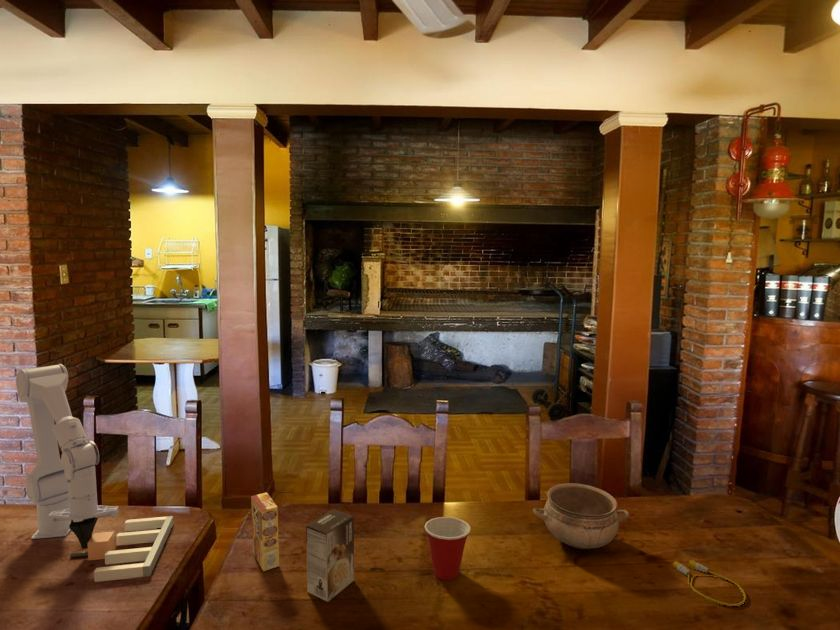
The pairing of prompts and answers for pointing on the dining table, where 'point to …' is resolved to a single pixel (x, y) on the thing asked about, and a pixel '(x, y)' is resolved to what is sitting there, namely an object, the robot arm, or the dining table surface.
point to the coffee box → (330, 554)
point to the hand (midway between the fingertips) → (86, 546)
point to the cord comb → (138, 554)
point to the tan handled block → (98, 546)
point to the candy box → (265, 531)
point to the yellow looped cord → (702, 568)
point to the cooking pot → (581, 515)
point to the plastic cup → (446, 545)
